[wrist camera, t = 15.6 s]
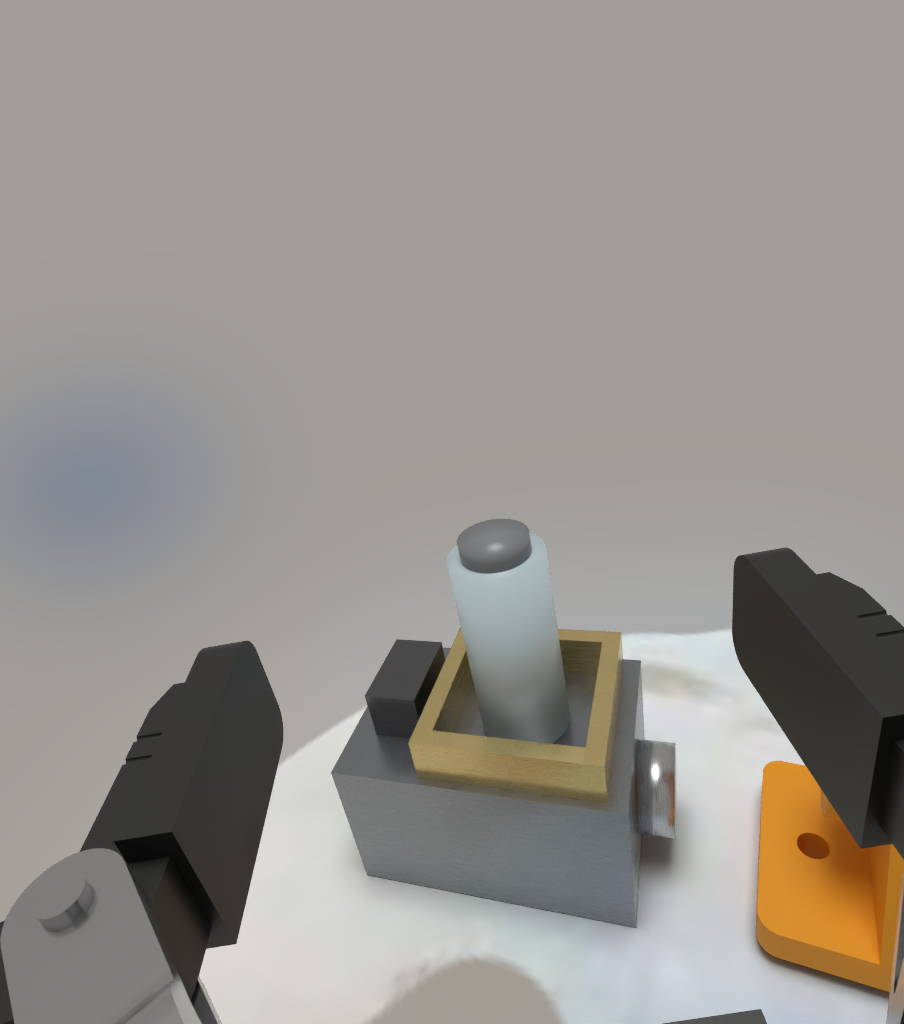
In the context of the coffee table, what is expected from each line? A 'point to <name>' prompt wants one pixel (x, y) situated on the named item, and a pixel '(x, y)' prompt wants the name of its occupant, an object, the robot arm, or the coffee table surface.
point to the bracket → (823, 884)
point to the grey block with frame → (509, 784)
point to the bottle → (510, 630)
